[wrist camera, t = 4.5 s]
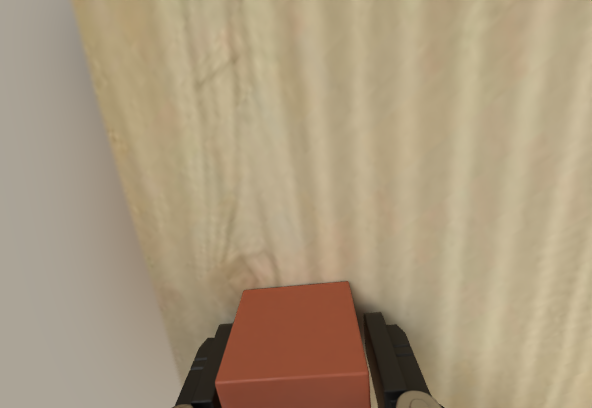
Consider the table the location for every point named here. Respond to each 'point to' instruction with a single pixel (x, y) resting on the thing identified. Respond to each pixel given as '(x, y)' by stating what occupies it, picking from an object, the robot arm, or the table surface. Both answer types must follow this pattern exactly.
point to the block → (295, 350)
